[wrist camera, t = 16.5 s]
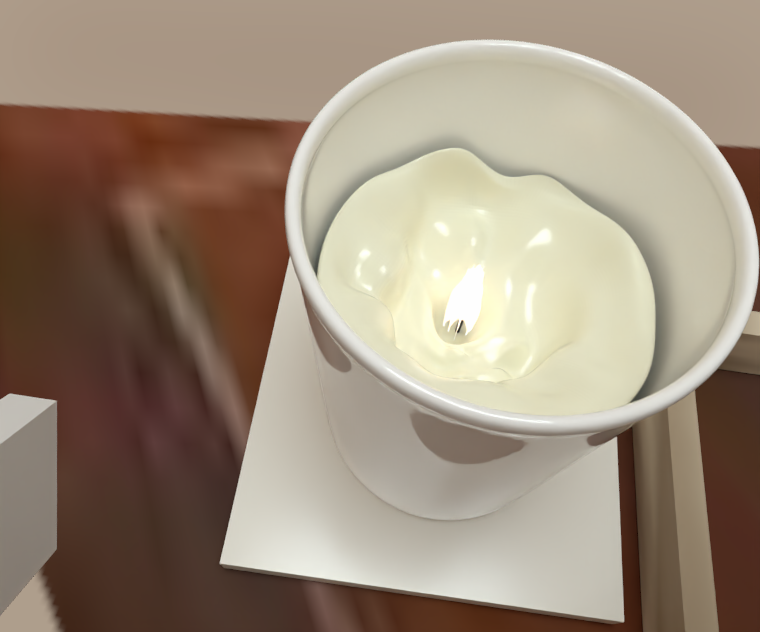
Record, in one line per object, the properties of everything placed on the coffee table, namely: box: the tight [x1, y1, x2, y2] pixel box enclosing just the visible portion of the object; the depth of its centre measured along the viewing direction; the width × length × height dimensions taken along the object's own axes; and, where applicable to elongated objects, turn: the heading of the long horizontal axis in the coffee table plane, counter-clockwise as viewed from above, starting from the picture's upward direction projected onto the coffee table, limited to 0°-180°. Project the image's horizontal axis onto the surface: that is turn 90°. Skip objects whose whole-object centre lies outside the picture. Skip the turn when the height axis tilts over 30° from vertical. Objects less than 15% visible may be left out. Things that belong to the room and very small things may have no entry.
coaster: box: [220, 257, 624, 624], centre depth 25 cm, size 13×13×1 cm
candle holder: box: [285, 40, 759, 521], centre depth 19 cm, size 10×10×12 cm
